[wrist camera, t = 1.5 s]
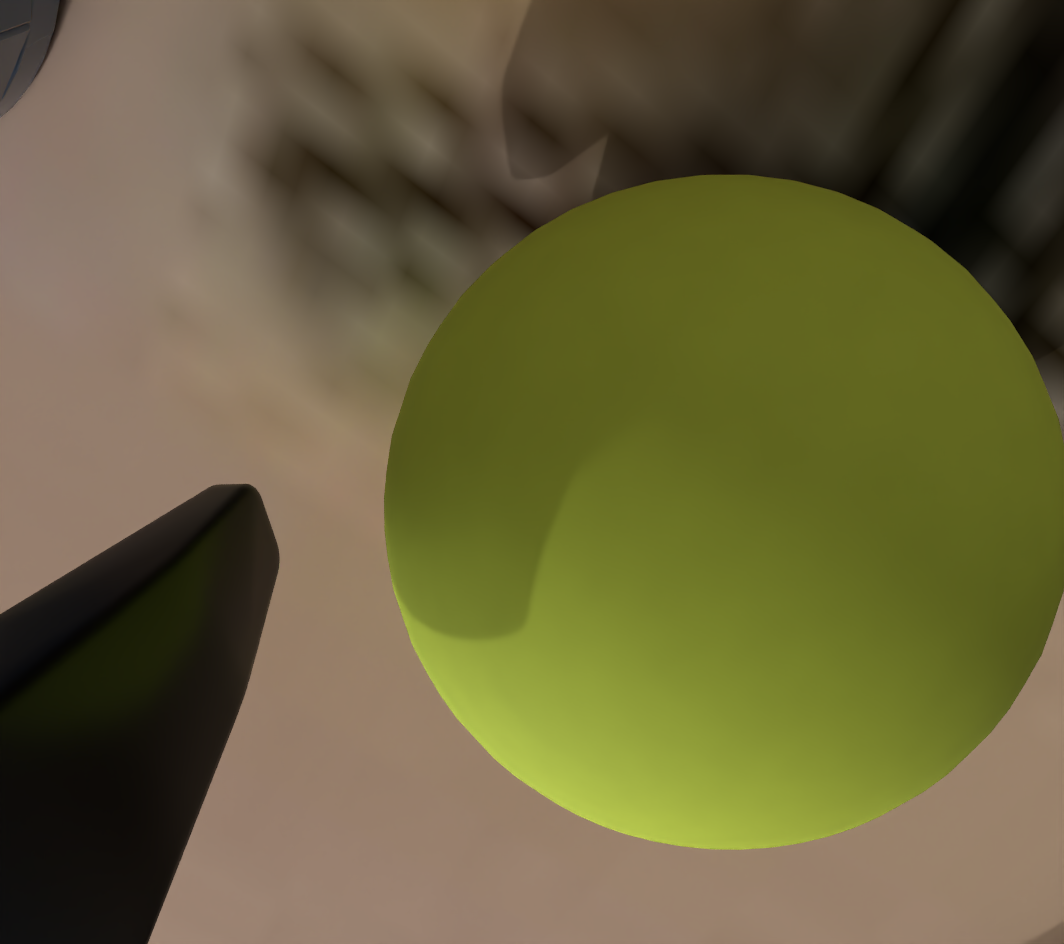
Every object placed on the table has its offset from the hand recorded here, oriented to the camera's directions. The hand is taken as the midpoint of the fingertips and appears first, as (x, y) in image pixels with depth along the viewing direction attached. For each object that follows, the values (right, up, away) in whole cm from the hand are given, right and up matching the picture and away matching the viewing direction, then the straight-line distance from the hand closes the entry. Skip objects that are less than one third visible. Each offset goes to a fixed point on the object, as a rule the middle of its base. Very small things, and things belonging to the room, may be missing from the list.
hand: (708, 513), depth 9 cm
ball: (0, 0, 0) cm, 0 cm away
